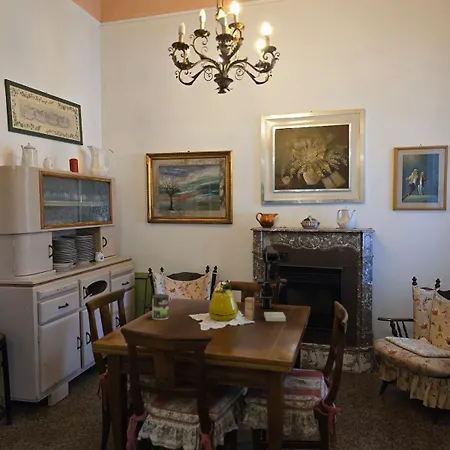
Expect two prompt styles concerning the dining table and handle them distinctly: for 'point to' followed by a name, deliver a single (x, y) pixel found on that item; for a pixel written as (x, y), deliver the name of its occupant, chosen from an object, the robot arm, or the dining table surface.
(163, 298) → the coffee can
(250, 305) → the oak block
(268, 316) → the tile base
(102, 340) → the dining table surface
